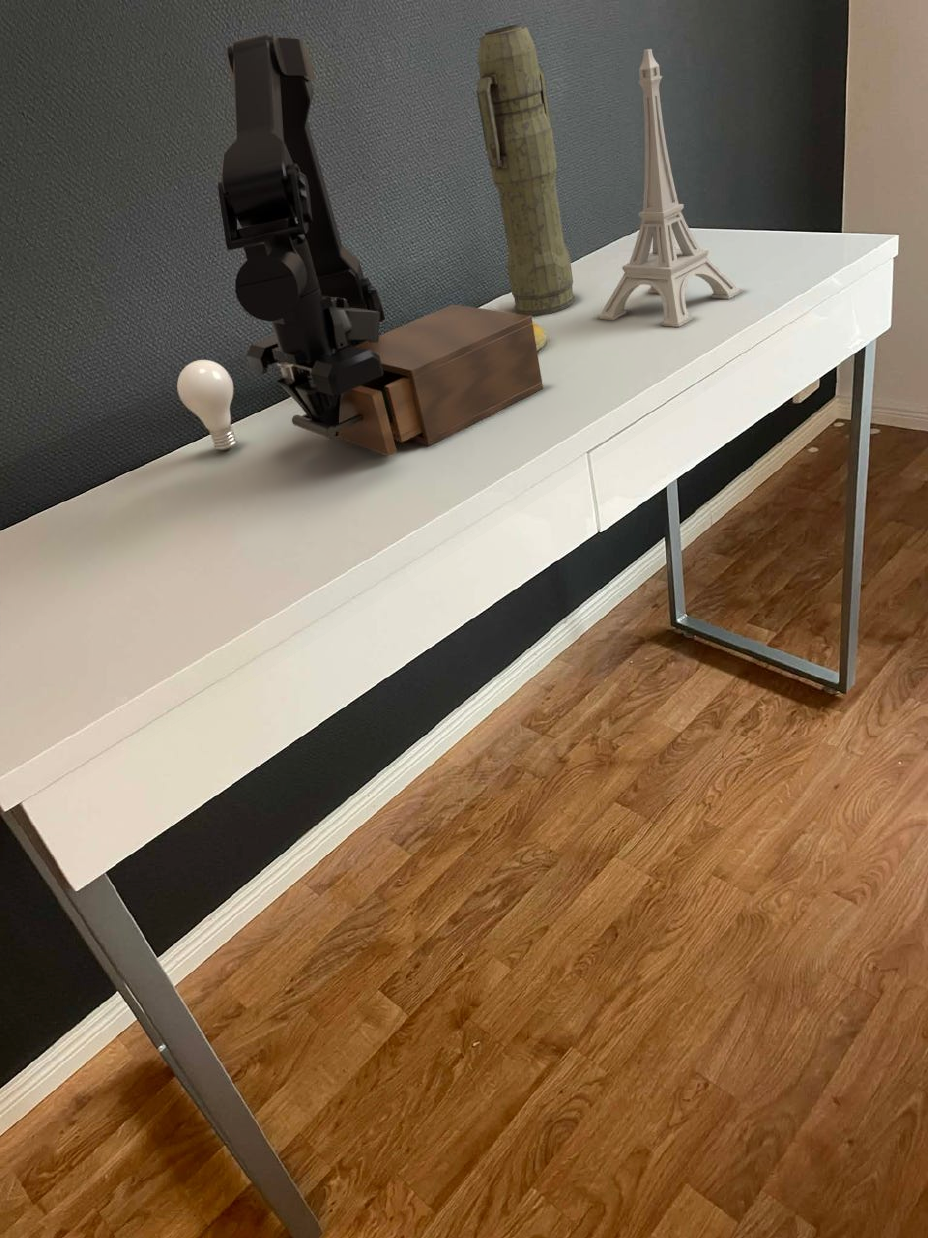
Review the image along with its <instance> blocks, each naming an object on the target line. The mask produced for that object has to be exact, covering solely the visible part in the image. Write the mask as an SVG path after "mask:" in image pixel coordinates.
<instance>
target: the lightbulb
mask: <svg viewBox="0 0 928 1238" xmlns="http://www.w3.org/2000/svg"><path fill="white" fill-rule="evenodd" d="M176 383H177V384H176V390H177V394H178V397H179V399H180V401H181V403H182V405H183V406H184V407H185V408H186V409H187V410H189V412H191V413H192V414H194V416H196V417H198V418H199V420H200V421H201V422H202V424H203V427H204V428H206V429H207V430H208V432H209V435H210V437H211V440H212V443H213V446H214V449H216V450H220V451H225V452H226V451H230V450H231V449H232V448H233V447H234V446H235V445H236V444H237V439H236V436H235V433H234V429H233V428H232V427H233V426H232V423H231V421H232V415H231V404H232V401H233V397H234V392H235V391H234V382H233V379H232V376H231V375H230V373H229V372H228V370H227V369H226V368H225V367H224V366H223V365H221V364H220V363H218V362H217V361H216V362H215V361H213V360H211V359H210V360H209V359H197V360H194V361H191V362H190V363H188V364H187V365H186V366H185V367H184V368H183V369H182V370H181V371H180V373H179V375H178V377H177V382H176Z"/></svg>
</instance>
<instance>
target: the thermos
mask: <svg viewBox="0 0 928 1238" xmlns="http://www.w3.org/2000/svg"><path fill="white" fill-rule="evenodd" d="M478 45H479V46H478V55H477V65H478V72H479V76H480V78H479V79H478V82H477V89H476V97H477V98H476V99H477V103H478V110H479V115H480V120H481V121H480V122H481V126H482V127H481V128H482V132H483V139H484V143H485V150H486V155H487V158H488V163H489V166H490V170H491V175H492V176H491V177H492V181H493V184H494V185H495V187H496V189H497V191H498V196H499V201H500V203H499V204H500V207H501V208H500V209H501V215H502V220H503V226H504V232H505V237H506V244H507V250H508V256H507V262H506V266H507V272H508V278H509V284H510V290H511V296H513V299H514V303H515V314H522V315H528V316H543V315H548V314H552V313H556V312H558V311H562V310H564V309H567V308H569V307H570V306H572V305H573V304H574V303H575V301H576V300H575V295H574V289H573V285H574V277H573V276H574V275H573V269H572V262H571V254H570V252H569V249H568V247H567V246H566V244H565V240H564V233H563V232H564V231H563V225H562V218H561V211H560V203H559V196H558V195H559V194H558V189H557V181H556V177H557V172H558V163H557V156H556V155H557V154H556V148H555V142H554V133H553V125H552V117H551V111H550V105H549V104H550V103H549V95H548V89H547V88H548V87H547V80H546V74H545V72H544V69H543V67H542V66H541V64H540V63H539V59H538V51H537V48H536V47H537V46H536V45H535V42H534V40H533V38H532V36H531V33H530V31H529V29H528V26H522V24H521V23H518V24H512V25H507V26H504V27H499V28H495V29H491V30H487V31H484V35H483V36H481V37H479V43H478Z"/></svg>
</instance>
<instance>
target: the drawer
mask: <svg viewBox="0 0 928 1238" xmlns="http://www.w3.org/2000/svg"><path fill="white" fill-rule="evenodd" d="M383 372H384V374H383V376H381V377H379V378H376V379H374V380H372V381H369V382H367V383H365V384H362V385H360V386H358V387H356V388H353V389H351V390H349V391H346V392H344V393H342V394H341V397H340V412H339V423H338V424H336V425H334V426H332V427H331V426H328V425H326V424H323V423H320V422H317V421H314V420H311V418H310V417H309V416H308V415H307V414H306V413H305V414H303V415H299V414H295V415H293V416H292V418H291V423H292V425H293V426H295V427H298V428H301V429H304V430H307V431H308V432H311V433H315V434H317V435H319V436H323V437H326V438H327V437H328V438H327V439H330V438H332V439H334V438H333V437H334V436H335V435H336V432H338V431H339V433H338V436H337V437H336V438H339V439H341V440H344V441H347V442H350V443H352V444H356V445H358V446H361V447H362V448H366V449H369V450H372V451H375V452H377V453H379V454H382V455H386V456H390V455H392V454H394V453H396V452H397V446H396V444H395V441H398V442H400V443H404V442H406V441H409V439H410V438H412V437H414V436H416V435H418V434H420V433H422V429H421V425H420V421H419V417H418V412H417V408H416V404H415V400H414V396H413V391H412V387H411V383H410V379H409V377H408V376H404V375H400V374H396V373H392V372H388V371H384V370H383ZM384 388H385V391H386V395H387V399H388V403H389V407H390V411H391V415H392V419H393V422H391V423H389V419H388V416H387V412H386V408H385V404H384V400H383V396H382V392H381V391H379V390H382V389H384Z"/></svg>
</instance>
